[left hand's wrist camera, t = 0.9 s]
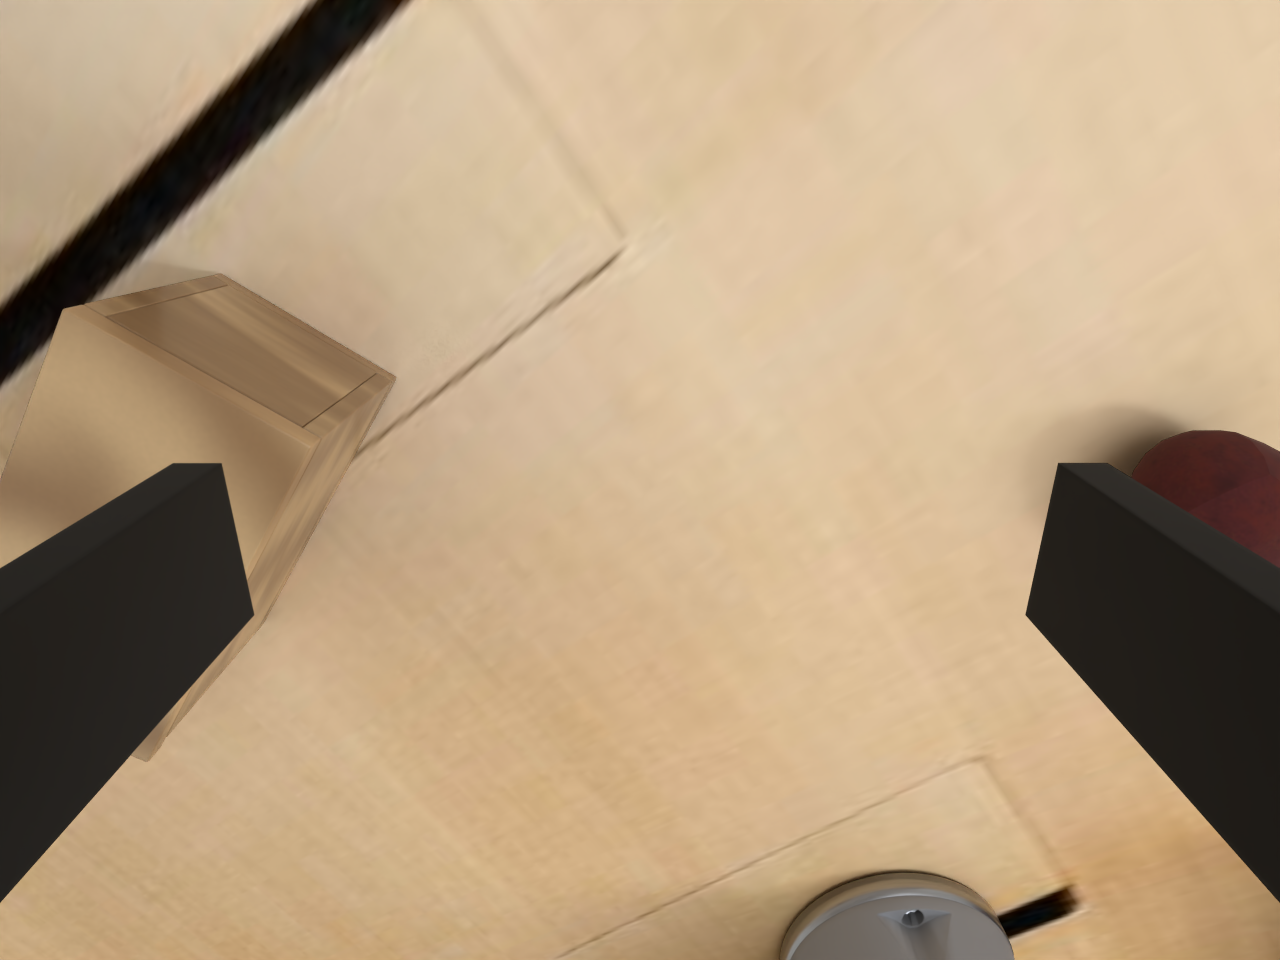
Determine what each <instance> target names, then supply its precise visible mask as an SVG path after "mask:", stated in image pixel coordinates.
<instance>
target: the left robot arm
mask: <svg viewBox="0 0 1280 960" xmlns="http://www.w3.org/2000/svg"><path fill="white" fill-rule="evenodd" d="M253 616H254V610H253V606H252V601H251V596H250V592H249V587H248V582H247V578H246V573H245V569H244V564H243V559H242V555H241V550H240V545H239V541H238V536H237V531H236V527H235V522H234V518H233V513H232V508H231V504H230V499H229V494H228V490H227V485H226V480H225V476H224V471H223V467H222V463H172V464H171V465H169V466H167V467H166V468H164V469H162V470H161V471H159V472H157V473H156V474H154V475H152V476H151V477H149V478H148V479H146V480H144V481H143V482H141V483H139V484H138V485H136V486H134V487H133V488H131V489H129V490H128V491H126V492H125V493H123V494H121V495H120V496H118V497H116V498H115V499H113V500H111V501H110V502H108V503H106V504H105V505H103V506H102V507H100V508H98V509H97V510H95V511H93V512H92V513H90V514H88V515H87V516H85V517H83V518H82V519H80V520H79V521H77V522H75V523H74V524H72V525H70V526H69V527H67V528H65V529H64V530H62V531H60V532H59V533H57V534H56V535H54V536H52V537H51V538H49V539H47V540H46V541H44V542H42V543H41V544H39V545H37V546H36V547H34V548H33V549H31V550H29V551H28V552H26V553H24V554H23V555H21V556H19V557H18V558H16V559H14V560H13V561H11V562H9V563H8V564H6V565H5V566H3V567H1V568H0V902H1V901H2V900H3V899H4V898H5V897H6V896H7V894H8V893H9V892H10V891H11V890H12V889H13V888H14V886H15V885H16V884H17V883H18V882H19V881H20V880H21V879H22V877H23V876H24V875H25V874H26V873H27V872H28V871H29V870H30V868H31V867H32V866H33V865H34V864H35V863H36V862H37V860H38V859H39V858H40V857H41V856H42V855H43V854H44V853H45V851H46V850H47V849H48V848H49V847H50V846H51V845H52V843H53V842H54V841H55V840H56V839H57V838H58V837H59V836H60V834H61V833H62V832H63V831H64V830H65V829H66V828H67V827H68V825H69V824H70V823H71V822H72V821H73V820H74V819H75V817H76V816H77V815H78V814H79V813H80V812H81V811H82V810H83V808H84V807H85V806H86V805H87V804H88V803H89V802H90V801H91V799H92V798H93V797H94V796H95V795H96V794H97V793H98V791H99V790H100V789H101V788H102V787H103V786H104V785H105V784H106V782H107V781H108V780H109V779H110V778H111V777H112V776H113V774H114V773H115V772H116V771H117V770H118V769H119V768H120V767H121V765H122V764H123V763H124V762H125V761H126V760H127V759H128V758H129V756H130V755H131V754H132V753H133V752H134V751H135V750H136V748H137V747H138V746H139V745H140V744H141V743H142V742H143V741H144V739H145V738H146V737H147V736H148V735H149V734H150V733H151V732H152V730H153V729H154V728H155V727H156V726H157V725H158V724H159V722H160V721H161V720H162V719H163V718H164V717H165V716H166V715H167V713H168V712H169V711H170V710H171V709H172V708H173V707H174V705H175V704H176V703H177V702H178V701H179V700H180V699H181V698H182V696H183V695H184V694H185V693H186V692H187V691H188V690H189V689H190V687H191V686H192V685H193V684H194V683H195V682H196V681H197V679H198V678H199V677H200V676H201V675H202V674H203V673H204V672H205V670H206V669H207V668H208V667H209V666H210V665H211V664H212V662H213V661H214V660H215V659H216V658H217V657H218V656H219V655H220V653H221V652H222V651H223V650H224V649H225V648H226V647H227V646H228V644H229V643H230V642H231V641H232V640H233V639H234V638H235V636H236V635H237V634H238V633H239V632H240V631H241V630H242V629H243V627H244V626H245V625H246V624H247V623H248V622H249V621H250V620H251V618H252V617H253ZM1026 616H1027V617H1028V618H1029V620H1030V621H1031V622H1032V623H1033V624H1034V625H1035V626H1036V627H1037V629H1038V630H1039V631H1040V632H1041V633H1042V634H1043V635H1044V636H1045V638H1046V639H1047V640H1048V641H1049V642H1050V643H1051V644H1052V646H1053V647H1054V648H1055V649H1056V650H1057V651H1058V652H1059V653H1060V655H1061V656H1062V657H1063V658H1064V659H1065V660H1066V661H1067V663H1068V664H1069V665H1070V666H1071V667H1072V668H1073V669H1074V670H1075V672H1076V673H1077V674H1078V675H1079V676H1080V677H1081V678H1082V679H1083V681H1084V682H1085V683H1086V684H1087V685H1088V686H1089V687H1090V689H1091V690H1092V691H1093V692H1094V693H1095V694H1096V695H1097V696H1098V698H1099V699H1100V700H1101V701H1102V702H1103V703H1104V704H1105V705H1106V707H1107V708H1108V709H1109V710H1110V711H1111V712H1112V713H1113V715H1114V716H1115V717H1116V718H1117V719H1118V720H1119V721H1120V722H1121V724H1122V725H1123V726H1124V727H1125V728H1126V729H1127V730H1128V732H1129V733H1130V734H1131V735H1132V736H1133V737H1134V738H1135V739H1136V741H1137V742H1138V743H1139V744H1140V745H1141V746H1142V747H1143V748H1144V750H1145V751H1146V752H1147V753H1148V754H1149V755H1150V756H1151V758H1152V759H1153V760H1154V761H1155V762H1156V763H1157V764H1158V765H1159V767H1160V768H1161V769H1162V770H1163V771H1164V772H1165V773H1166V774H1167V776H1168V777H1169V778H1170V779H1171V780H1172V781H1173V782H1174V784H1175V785H1176V786H1177V787H1178V788H1179V789H1180V790H1181V791H1182V793H1183V794H1184V795H1185V796H1186V797H1187V798H1188V799H1189V801H1190V802H1191V803H1192V804H1193V805H1194V806H1195V807H1196V808H1197V810H1198V811H1199V812H1200V813H1201V814H1202V815H1203V816H1204V817H1205V819H1206V820H1207V821H1208V822H1209V823H1210V824H1211V825H1212V827H1213V828H1214V829H1215V830H1216V831H1217V832H1218V833H1219V834H1220V836H1221V837H1222V838H1223V839H1224V840H1225V841H1226V842H1227V843H1228V845H1229V846H1230V847H1231V848H1232V849H1233V850H1234V851H1235V853H1236V854H1237V855H1238V856H1239V857H1240V858H1241V859H1242V860H1243V862H1244V863H1245V864H1246V865H1247V866H1248V867H1249V868H1250V870H1251V871H1252V872H1253V873H1254V874H1255V875H1256V876H1257V877H1258V879H1259V880H1260V881H1261V882H1262V883H1263V884H1264V885H1265V886H1266V888H1267V889H1268V890H1269V891H1270V892H1271V893H1272V894H1273V896H1274V897H1275V898H1276V899H1277V900H1278V901H1279V902H1280V568H1279V567H1277V566H1275V565H1274V564H1272V563H1271V562H1269V561H1267V560H1266V559H1264V558H1262V557H1261V556H1259V555H1257V554H1256V553H1254V552H1252V551H1251V550H1249V549H1247V548H1246V547H1244V546H1243V545H1241V544H1239V543H1238V542H1236V541H1234V540H1233V539H1231V538H1229V537H1228V536H1226V535H1224V534H1223V533H1221V532H1220V531H1218V530H1216V529H1215V528H1213V527H1211V526H1210V525H1208V524H1206V523H1205V522H1203V521H1201V520H1200V519H1198V518H1197V517H1195V516H1193V515H1192V514H1190V513H1188V512H1187V511H1185V510H1183V509H1182V508H1180V507H1178V506H1177V505H1175V504H1174V503H1172V502H1170V501H1169V500H1167V499H1165V498H1164V497H1162V496H1160V495H1159V494H1157V493H1155V492H1154V491H1152V490H1151V489H1149V488H1147V487H1146V486H1144V485H1142V484H1141V483H1139V482H1137V481H1136V480H1134V479H1132V478H1131V477H1129V476H1128V475H1126V474H1124V473H1123V472H1121V471H1119V470H1118V469H1116V468H1114V467H1113V466H1111V465H1109V464H1108V463H1058V467H1057V471H1056V476H1055V480H1054V485H1053V490H1052V494H1051V499H1050V504H1049V508H1048V513H1047V518H1046V522H1045V527H1044V531H1043V536H1042V541H1041V545H1040V550H1039V555H1038V559H1037V564H1036V569H1035V573H1034V578H1033V582H1032V587H1031V592H1030V596H1029V601H1028V606H1027V610H1026Z"/></svg>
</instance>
